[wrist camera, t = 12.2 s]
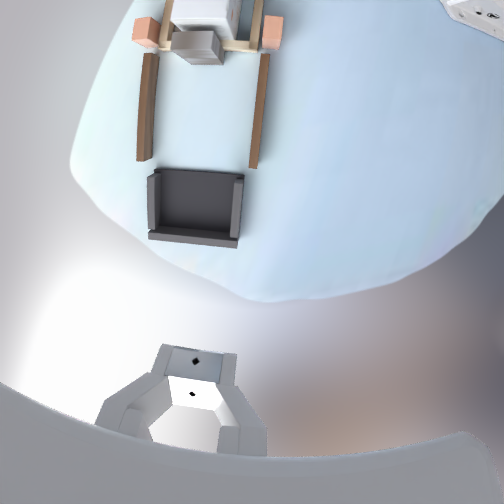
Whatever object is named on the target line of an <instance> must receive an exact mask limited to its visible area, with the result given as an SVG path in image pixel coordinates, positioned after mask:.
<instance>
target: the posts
mask: <svg viewBox="0 0 504 504" xmlns="http://www.w3.org/2000/svg"><path fill="white" fill-rule="evenodd" d="M283 18H284V17H278V16H269V15H265V20H264V28H263V36H262V48H267V49H276V50H279V46H280V42H281V36H282V27H283ZM160 31H161V25H160V24H159V23H158V22H157V21H155V20H154V19H153V18H152V17H145V18H138V19H135V23H134V28H133V34H132V41H134V42H136V43H138V44H140V45H142V46H144V47H146V48H153V47H158V45H159V38H160Z"/></svg>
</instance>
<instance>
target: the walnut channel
mask: <svg viewBox="0 0 504 504" xmlns="http://www.w3.org/2000/svg"><path fill="white" fill-rule="evenodd" d="M159 58H160V57H159V56H157V55H155V54H153V53H144V57H143V65H142V74H141V84H140V95H139V109H138V126H137V158H136V161H143V162H144V161H146V160H148V159H151V158H152V144H153V124H154V108H155V96H156V85H157V75H158V66H159ZM269 58H270V54H262V53H261V58H260V67H259V75H258V84H257V93H256V102H255V112H254V121H253V130H252V140H251V149H250V159H249V168H253V169H257V165H258V156H259V147H260V138H261V129H262V120H263V111H264V102H265V93H266V84H267V75H268V67H269Z"/></svg>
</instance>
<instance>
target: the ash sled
mask: <svg viewBox="0 0 504 504" xmlns="http://www.w3.org/2000/svg"><path fill="white" fill-rule="evenodd" d="M173 1H174V0H166V3H165V8H164V13H163V19H162V25H161V31H160V38H159V45H158V49H159V50H161V51H163V52H166V51H173V52H174V53H176V54H177V55H178V56H180V57H181V58H183V59H184V60H186V61H187V62H188V63H190V64H191V65H223V62H224V54H225V51H239V52H253V53H258V45H259V36H260V28H261V20H262V12H263V4H264V0H255V2H254V10H253V17H252V25H251V33H250V41H238V40H218V38H217V36H216V35H215V33H214V31H183V32H173V30H174V23H173V22H171V21H170V16H171V11H172V6H173Z"/></svg>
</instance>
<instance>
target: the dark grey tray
mask: <svg viewBox="0 0 504 504" xmlns="http://www.w3.org/2000/svg"><path fill="white" fill-rule="evenodd" d="M243 186H244V175H237V174H226V173H214V172H201V171H186V170H167V169H154V174H152V175H150V176H148V177H147V213H148V229H151V230H150V231H149V232H148V239H150V240H160V241H169V242H179V243H189V244H198V245H208V246H217V247H227V248H236V249H237V245H238V239H239V228H240V217H241V207H242V196H243Z"/></svg>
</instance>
